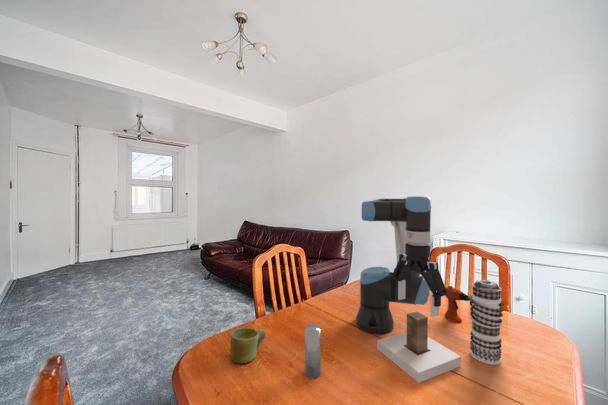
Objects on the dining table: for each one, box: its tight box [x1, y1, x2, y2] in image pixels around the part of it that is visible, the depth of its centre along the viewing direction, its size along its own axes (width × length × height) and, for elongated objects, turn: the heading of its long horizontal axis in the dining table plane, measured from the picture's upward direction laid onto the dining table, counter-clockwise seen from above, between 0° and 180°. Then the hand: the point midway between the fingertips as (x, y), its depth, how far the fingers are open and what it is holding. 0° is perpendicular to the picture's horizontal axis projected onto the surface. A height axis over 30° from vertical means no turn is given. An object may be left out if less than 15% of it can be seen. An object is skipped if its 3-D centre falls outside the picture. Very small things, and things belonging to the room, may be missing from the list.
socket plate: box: [376, 331, 462, 383], centre depth 86 cm, size 18×18×3 cm
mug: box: [229, 327, 266, 364], centre depth 87 cm, size 12×10×10 cm
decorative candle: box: [469, 279, 505, 366], centre depth 86 cm, size 9×9×25 cm
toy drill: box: [444, 285, 473, 324], centre depth 107 cm, size 5×18×14 cm, turn 8°
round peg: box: [304, 323, 322, 379], centre depth 78 cm, size 5×5×14 cm
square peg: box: [406, 311, 429, 355], centre depth 86 cm, size 4×4×14 cm
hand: (417, 306), depth 86 cm, fingers open, 13 cm apart
